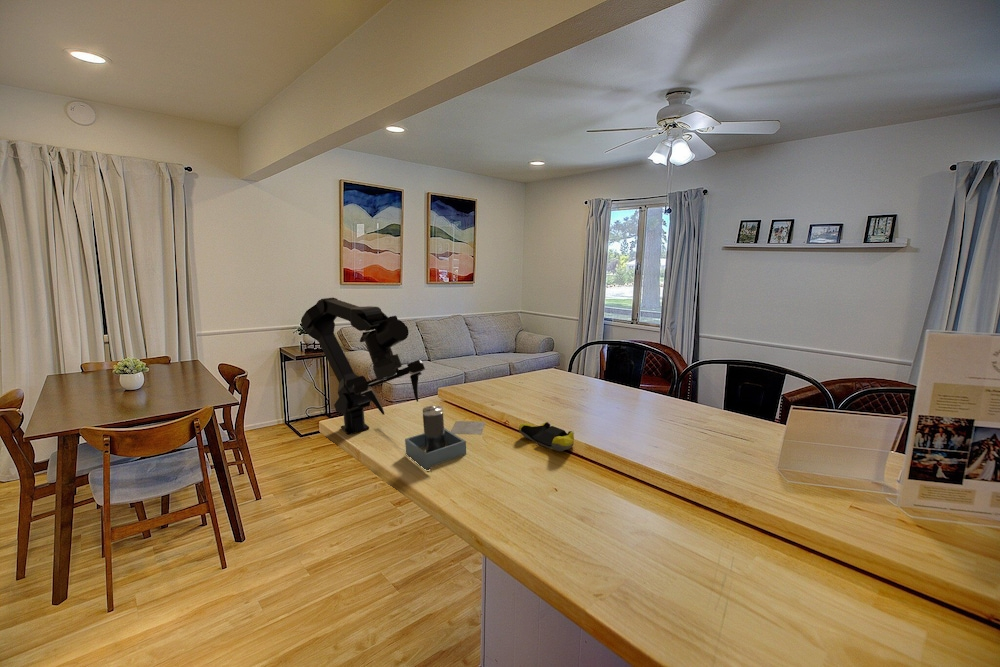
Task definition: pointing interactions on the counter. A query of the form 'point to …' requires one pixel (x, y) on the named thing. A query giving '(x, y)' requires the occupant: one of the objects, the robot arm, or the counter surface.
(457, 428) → the plate
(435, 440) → the battery
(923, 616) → the counter surface
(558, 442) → the black and yellow shoe
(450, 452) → the bin
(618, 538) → the counter surface
